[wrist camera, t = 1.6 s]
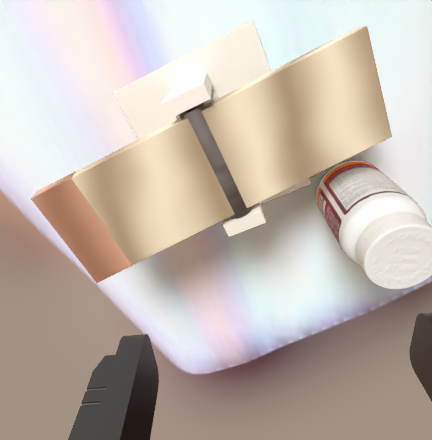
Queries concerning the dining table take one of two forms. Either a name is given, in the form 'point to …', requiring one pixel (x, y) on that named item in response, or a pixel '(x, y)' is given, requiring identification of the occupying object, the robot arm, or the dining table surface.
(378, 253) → the pill bottle
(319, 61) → the board
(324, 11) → the dining table surface
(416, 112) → the dining table surface
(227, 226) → the pivot stand
